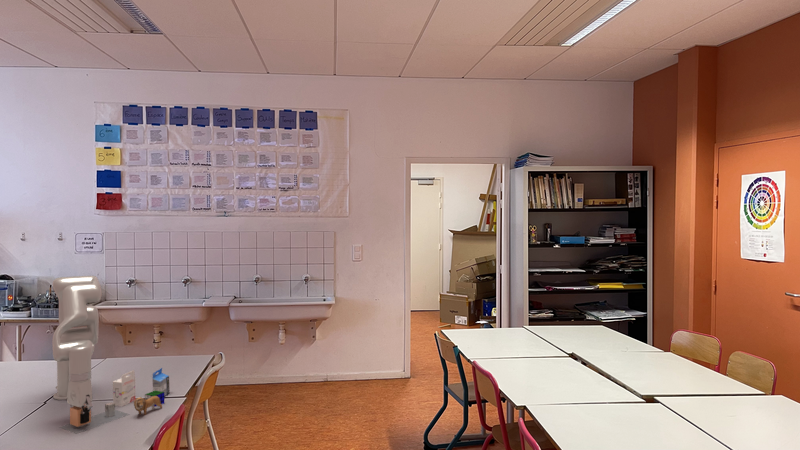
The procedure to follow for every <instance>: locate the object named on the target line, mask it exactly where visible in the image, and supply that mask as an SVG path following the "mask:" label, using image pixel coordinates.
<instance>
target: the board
mask: <svg viewBox="0 0 800 450" xmlns="http://www.w3.org/2000/svg"><path fill="white" fill-rule="evenodd" d="M130 415H131V414H130V413H127V412H123V411H120V410H117V409H115V415H114V416H111V417H106V416H105V411H103V412H101V413H97V414H95V415H91V422H90V423H87V424H86V426H83V427H80V428H78V427H76V426H74V425H71V424H70V423H68V424H66V425H65V424H64V425H62V426H59V427H58V428H60V429H62V430H65V431H68V432H70V433H73V434H79V433H83V432H85V431H88V430H91V429H94V428H97V427H99V426H103V425H104V424H107V423H110V422H113V421H116V420H118V419H119V420H120V419H122V418H125V417H126V416H130Z"/></svg>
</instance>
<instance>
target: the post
mask: <svg viewBox="0 0 800 450" xmlns="http://www.w3.org/2000/svg"><path fill="white" fill-rule="evenodd" d="M115 410H116V406H115V403H113V401H111V402H108V403H105V404H104V412H105V416H106V417H111V416H114V415H115Z"/></svg>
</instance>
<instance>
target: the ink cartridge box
mask: <svg viewBox="0 0 800 450" xmlns="http://www.w3.org/2000/svg"><path fill="white" fill-rule="evenodd" d="M135 372H136V371H135V370H134V369H133V370H130V371H129V372H126V373H124V374H121V376H120V378H118V379H115V380H113V381H112V403H115V407H124V406H126V405H129V404H130V403H132V402H134V401H135V399H136V374H135Z"/></svg>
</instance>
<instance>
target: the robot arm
mask: <svg viewBox="0 0 800 450" xmlns="http://www.w3.org/2000/svg"><path fill="white" fill-rule="evenodd" d="M52 289H53V292H54V293H55V295H56V297H57V298H58V324H59V325H58V326H57V327H56V329H55V330H54V332H53V335H52V341H51V342H52V344H51V345H52V357H53V360H54V361H55V362H56V371H57V372H56V377H57V378H56V382H57V386H55V389H56V391H57V392H56V393H54V394H53V399H54V400H57V401H58V400H59V401H62V400H63V401H64V400H66V401H67V403H66V404H68V405H70V408H71V407H74V406H76V407H80V408H81V413H82V414H80V424H83V423H86V422H89V412H90V409H91V410H92V408H93V406H94V405H93V387H92V381H91V380H92V356H93V354H94V352H95V345H97V344H98V342H99V320H100V318H99V317H100V313H99V310H98V308H97V306H95V305H87V304H89V303H90V304H91V303H98V302H100V301H101V300H102V294H103V293H102V286H101V283H100V281H99V279H98V277H97V276H95V275H79V276H76V275H75V276H62V277H57V278H55V279H54V280H53V281H52ZM84 404H86V405H84ZM85 406H86V408H85V409H84V407H85Z"/></svg>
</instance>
